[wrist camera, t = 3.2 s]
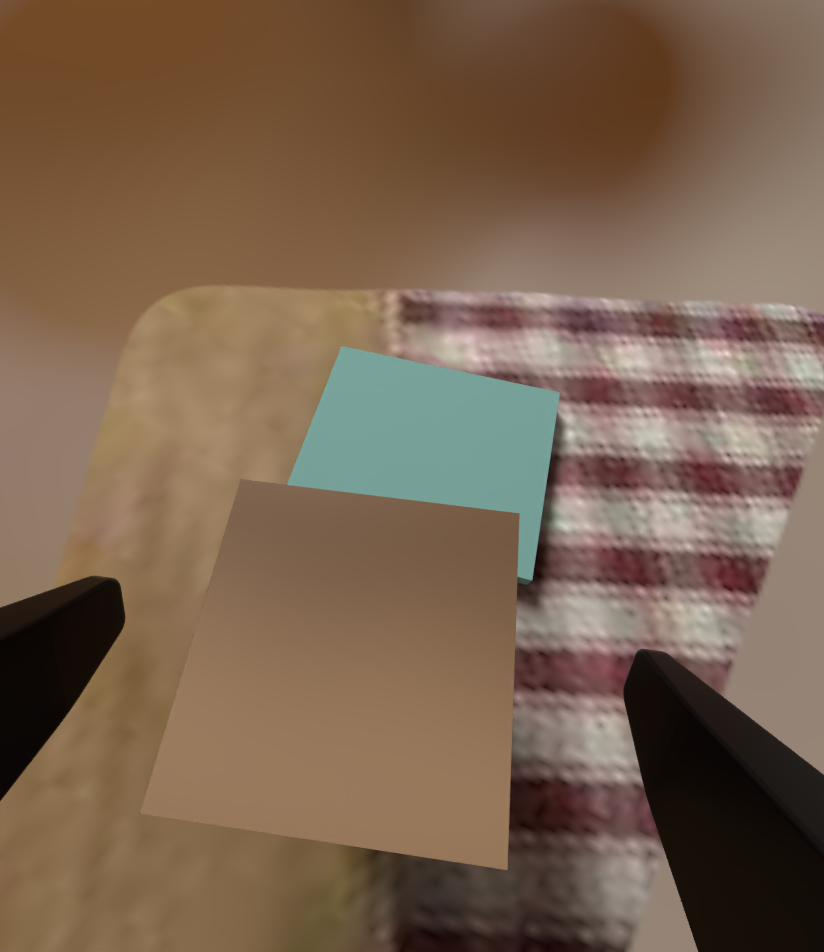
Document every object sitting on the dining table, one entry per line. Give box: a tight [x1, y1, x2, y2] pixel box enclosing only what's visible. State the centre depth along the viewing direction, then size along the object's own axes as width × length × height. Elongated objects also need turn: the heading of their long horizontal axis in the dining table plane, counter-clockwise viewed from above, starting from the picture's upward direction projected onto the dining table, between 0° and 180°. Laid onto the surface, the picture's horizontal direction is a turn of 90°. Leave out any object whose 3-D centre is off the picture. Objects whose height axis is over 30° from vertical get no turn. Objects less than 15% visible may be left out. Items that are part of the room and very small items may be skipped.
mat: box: [287, 346, 560, 585], centre depth 18 cm, size 8×9×1 cm
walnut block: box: [140, 479, 520, 870], centre depth 10 cm, size 4×4×10 cm
